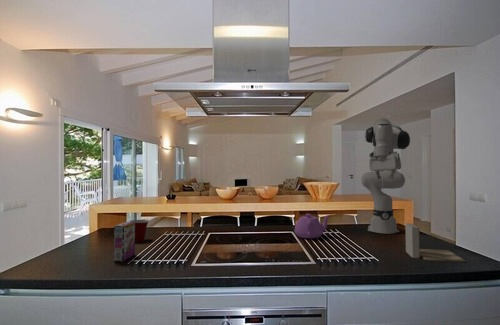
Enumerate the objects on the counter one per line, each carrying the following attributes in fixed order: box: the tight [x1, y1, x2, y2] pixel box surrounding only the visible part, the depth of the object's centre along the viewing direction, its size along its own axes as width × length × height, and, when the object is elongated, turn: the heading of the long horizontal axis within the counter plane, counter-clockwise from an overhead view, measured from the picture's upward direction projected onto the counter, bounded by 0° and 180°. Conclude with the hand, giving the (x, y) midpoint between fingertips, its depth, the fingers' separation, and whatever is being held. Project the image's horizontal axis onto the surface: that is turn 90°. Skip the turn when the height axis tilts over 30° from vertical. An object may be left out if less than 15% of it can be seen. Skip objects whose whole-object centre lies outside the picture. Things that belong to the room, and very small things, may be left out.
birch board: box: [420, 248, 466, 263], centre depth 134 cm, size 16×16×1 cm
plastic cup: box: [129, 219, 150, 243], centre depth 169 cm, size 11×11×12 cm
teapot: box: [294, 213, 331, 239], centre depth 174 cm, size 22×22×14 cm
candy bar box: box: [113, 221, 136, 263], centre depth 136 cm, size 11×5×16 cm, turn 175°
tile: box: [404, 222, 421, 259], centre depth 137 cm, size 10×3×14 cm, turn 167°
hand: (384, 178), depth 152 cm, fingers open, 8 cm apart
